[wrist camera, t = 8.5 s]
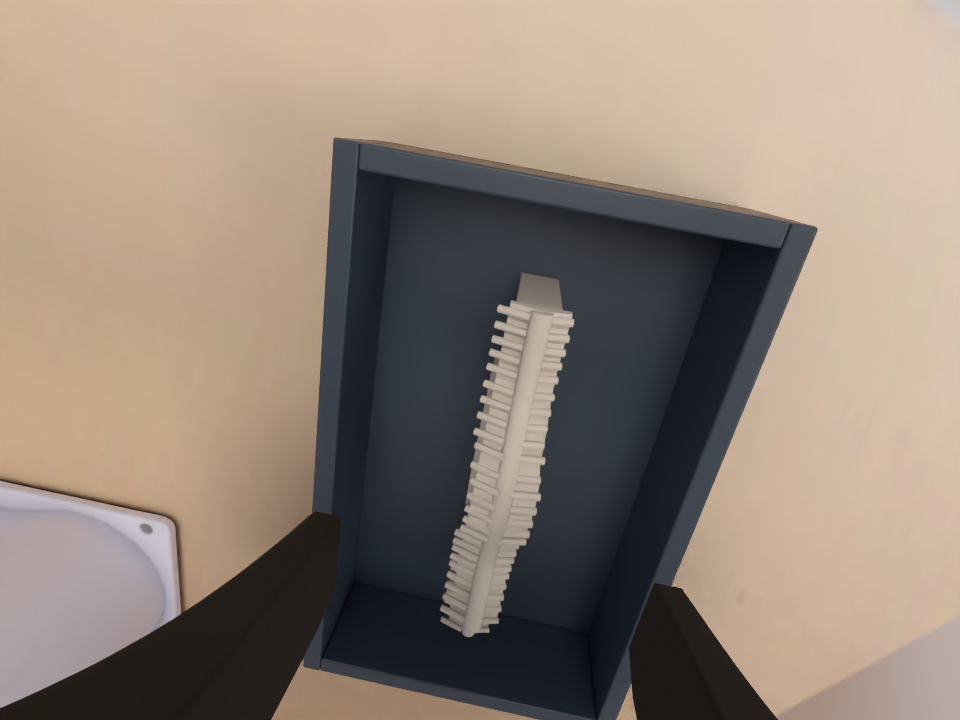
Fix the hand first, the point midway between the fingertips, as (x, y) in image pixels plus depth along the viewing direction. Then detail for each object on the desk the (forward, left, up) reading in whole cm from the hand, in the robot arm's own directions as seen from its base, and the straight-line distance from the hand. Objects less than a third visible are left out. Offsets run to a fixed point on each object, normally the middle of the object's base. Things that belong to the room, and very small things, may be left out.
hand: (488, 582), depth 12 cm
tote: (0, 0, -7) cm, 7 cm away
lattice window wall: (0, 0, -7) cm, 7 cm away
